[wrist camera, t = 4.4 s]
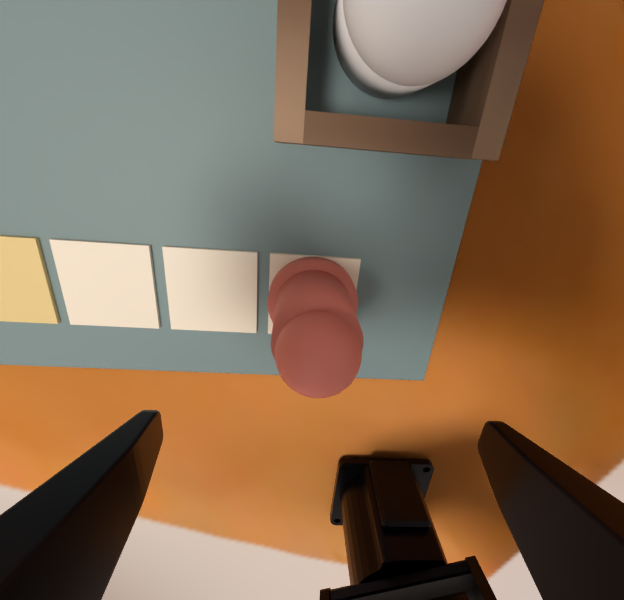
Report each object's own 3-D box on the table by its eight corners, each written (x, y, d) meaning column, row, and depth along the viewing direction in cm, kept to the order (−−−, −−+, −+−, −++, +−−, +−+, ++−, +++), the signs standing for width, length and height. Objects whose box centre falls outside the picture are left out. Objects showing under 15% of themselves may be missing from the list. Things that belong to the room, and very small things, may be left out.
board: (421, 376, 20) (424, 382, 19) (-82, 356, 18) (-94, 363, 17) (541, -84, 12) (553, -96, 11) (-359, -214, 10) (-398, -236, 9)
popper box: (460, 158, 15) (498, 160, 12) (277, 142, 14) (273, 141, 11) (521, -96, 11) (593, -174, 9) (287, -131, 11) (283, -226, 8)
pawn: (349, 337, 18) (376, 432, 12) (267, 333, 18) (252, 429, 12) (360, 259, 16) (399, 324, 10) (269, 253, 16) (253, 317, 10)
